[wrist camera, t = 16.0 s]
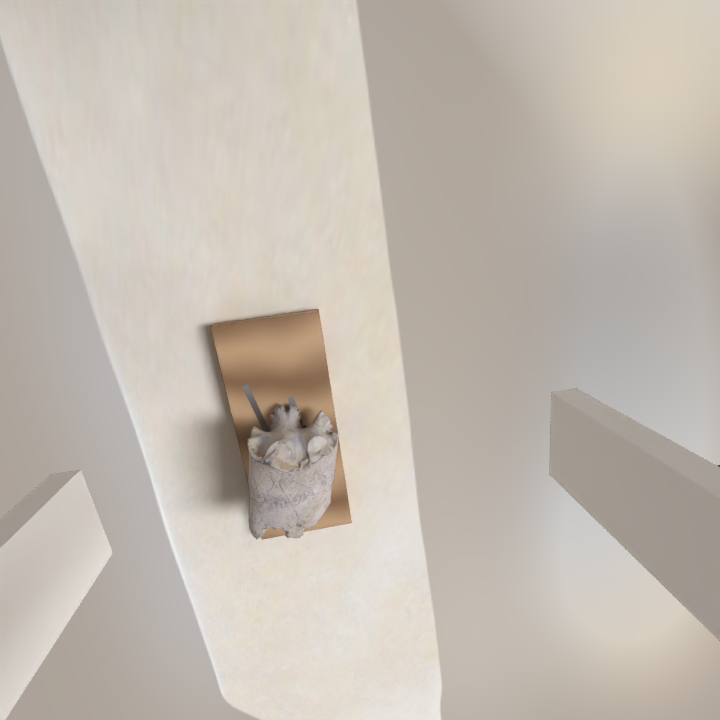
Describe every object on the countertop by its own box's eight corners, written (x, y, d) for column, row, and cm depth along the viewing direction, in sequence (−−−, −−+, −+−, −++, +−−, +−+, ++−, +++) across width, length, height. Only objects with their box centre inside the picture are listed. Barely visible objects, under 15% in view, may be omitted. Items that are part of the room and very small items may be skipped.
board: (214, 323, 38) (210, 327, 36) (318, 309, 39) (318, 311, 37) (263, 530, 45) (261, 539, 43) (350, 514, 46) (351, 523, 44)
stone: (253, 506, 42) (243, 555, 36) (255, 401, 39) (244, 434, 32) (328, 506, 43) (332, 553, 37) (336, 404, 40) (342, 436, 33)
